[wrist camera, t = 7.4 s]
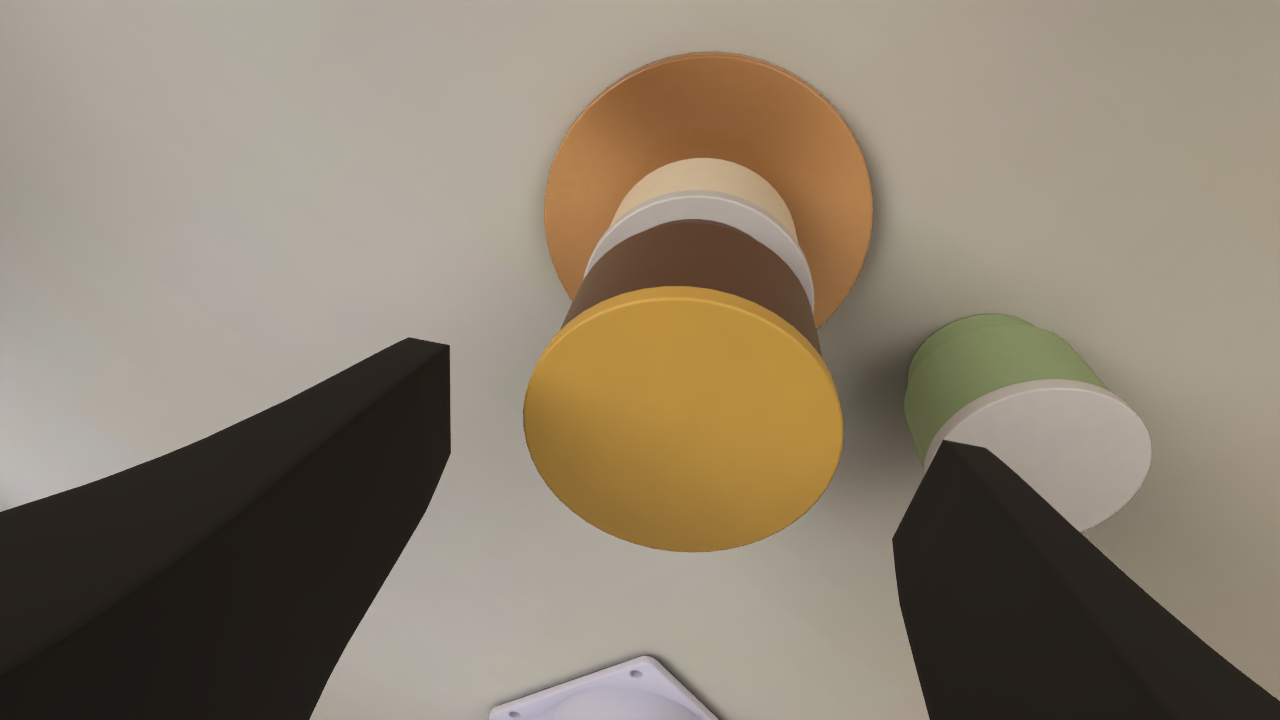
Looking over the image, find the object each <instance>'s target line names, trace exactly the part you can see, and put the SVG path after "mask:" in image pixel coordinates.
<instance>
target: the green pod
mask: <svg viewBox="0 0 1280 720" xmlns="http://www.w3.org/2000/svg"><path fill="white" fill-rule="evenodd" d="M907 383H908V387H907V390H906V394H905V399H904V412H905V418H906V421H907V424H908V427H909V430H910V432H911V435H912V438H913V441H914V443H915V446H916V449H917V451H918V454H919V457H920V459H921V462H922V465H923V468H924V476H925V474H926V472H927V470H928V468H929V466H930V464H931V462H932V460H933V458H934V456H935V454H936V452H937V450H938V448H939V446H940V444H941V442H942V440H948V441H953V442H958V443H964V444H969V445H974V446H979V447H984V448H987V449H988V450H989V451H991V452H992V453H993V454H994V455H996V456H997V457H998V458H999V459H1000V460H1002V461H1003V462H1004V463H1005V464H1006V465H1007V466H1009V467H1010V468H1011V469H1012V470H1013V471H1014V472H1015V473H1016V474H1018V475H1019V476H1020V477H1021V478H1022V479H1023V480H1024V481H1025V482H1026V483H1027V484H1029V485H1030V486H1031V487H1032V488H1033V489H1034V490H1035V491H1036V492H1037V493H1038V494H1039V495H1040V496H1041V497H1043V498H1044V499H1045V500H1046V501H1047V502H1048V503H1049V504H1050V505H1051V506H1052V507H1053V508H1054V509H1055V510H1056V511H1057V512H1059V513H1060V514H1061V515H1062V516H1063V517H1064V518H1065V519H1066V520H1067V521H1068V522H1069V523H1070V524H1071V525H1072V526H1073V527H1075V528H1076V529H1077V530H1078V531H1079V532H1082V531H1085V530H1087V529H1089V528H1091V527H1093V526H1095V525H1097V524H1099V523H1101V522H1102V521H1104V520H1106V519H1107V518H1109V517H1110V516H1112V515H1113V514H1114V513H1116V512H1117V511H1118V510H1120V509H1121V508H1122V507H1123V506H1124V505H1125V504H1126V503H1127V502H1128V501H1129V500H1130V499H1131V498H1132V497H1133V496H1134V495H1135V493H1136V492H1137V491H1138V489H1139V488H1140V486H1141V485H1142V483H1143V482H1144V479H1145V477H1146V475H1147V473H1148V470H1149V466H1150V463H1151V454H1152V448H1151V440H1150V437H1149V434H1148V431H1147V428H1146V427H1145V425H1144V423H1143V422H1142V420H1141V419H1140V418H1139V417H1138V415H1137V414H1136V413H1135V412H1134V411H1133V410H1132V409H1131V407H1130V406H1129V405H1128V404H1127V403H1126V402H1125V401H1123V400H1122V399H1121V398H1119V397H1118V396H1117V395H1115V394H1113V393H1111V392H1110V391H1109V390H1108V388H1107V387H1106V386H1105V385H1104V384H1103V383H1102V381H1101V380H1100V379H1099V378H1098V377H1097V376H1096V374H1095V373H1094V372H1093V371H1092V370H1091V369H1090V367H1089V366H1088V365H1087V364H1086V363H1085V362H1084V360H1083V359H1082V358H1081V357H1080V356H1079V355H1078V353H1077V352H1076V351H1075V350H1074V349H1073V348H1072V347H1071V345H1070V344H1068V343H1067V342H1066V341H1065V340H1063V339H1062V338H1060V337H1059V336H1057V335H1055V334H1053V333H1051V332H1048V331H1046V330H1043V329H1040V328H1036V327H1034V326H1032V325H1031V324H1029V323H1027V322H1026V321H1023V320H1021V319H1018V318H1016V317H1012V316H1008V315H1000V314H983V315H976V316H971V317H967V318H963V319H960V320H957V321H955V322H953V323H950V324H948V325H946V326H945V327H943V328H941V329H940V330H938V331H937V332H935V333H934V334H933V335H931V336H930V337H929V338H928V339H927V340H926V341H925V342H924V343H923V344H922V345H921V346H920V348H919V349H918V351H917V352H916V354H915V355H914V357H913V359H912V361H911V364H910V367H909V371H908V380H907Z"/></svg>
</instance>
